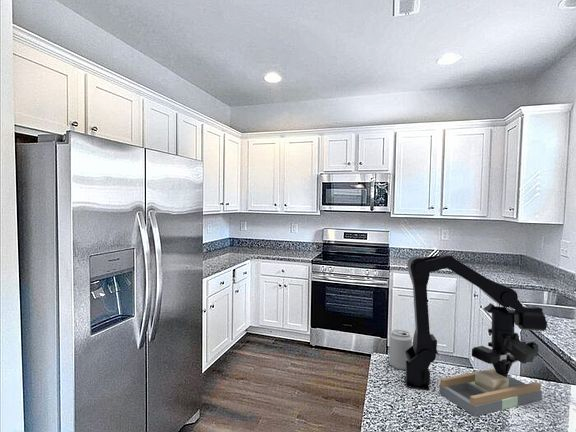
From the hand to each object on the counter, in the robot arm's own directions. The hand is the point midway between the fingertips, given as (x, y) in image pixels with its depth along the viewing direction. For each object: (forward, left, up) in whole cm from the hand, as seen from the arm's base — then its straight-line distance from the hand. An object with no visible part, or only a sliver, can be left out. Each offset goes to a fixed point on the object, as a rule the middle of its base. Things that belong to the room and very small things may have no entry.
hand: (502, 380), depth 98 cm
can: (-28, +11, -4) cm, 30 cm away
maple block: (-4, -2, -2) cm, 5 cm away
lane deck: (-4, -3, -4) cm, 6 cm away
